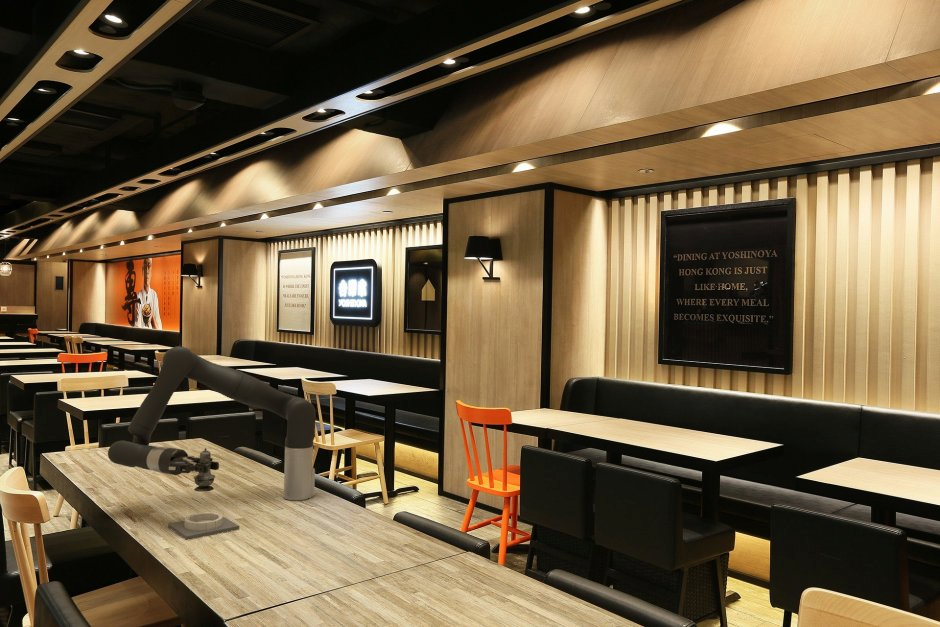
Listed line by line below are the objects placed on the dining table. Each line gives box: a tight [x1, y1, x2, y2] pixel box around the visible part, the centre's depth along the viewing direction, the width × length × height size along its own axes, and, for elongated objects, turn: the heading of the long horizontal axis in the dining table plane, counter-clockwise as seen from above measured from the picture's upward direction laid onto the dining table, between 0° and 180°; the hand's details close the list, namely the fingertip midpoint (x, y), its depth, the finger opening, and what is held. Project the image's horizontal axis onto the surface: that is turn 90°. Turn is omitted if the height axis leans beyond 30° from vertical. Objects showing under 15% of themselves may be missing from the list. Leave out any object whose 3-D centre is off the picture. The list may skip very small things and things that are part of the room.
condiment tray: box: [167, 512, 240, 541], centre depth 196 cm, size 15×14×3 cm
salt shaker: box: [192, 447, 216, 493], centre depth 196 cm, size 6×6×12 cm
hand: (212, 467), depth 195 cm, fingers closed on salt shaker, 3 cm apart
